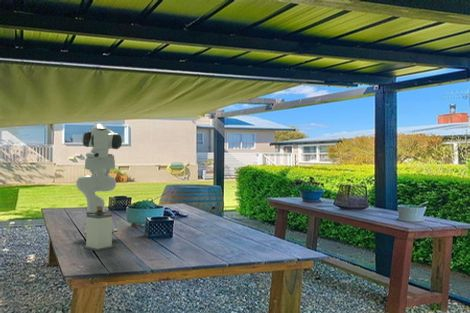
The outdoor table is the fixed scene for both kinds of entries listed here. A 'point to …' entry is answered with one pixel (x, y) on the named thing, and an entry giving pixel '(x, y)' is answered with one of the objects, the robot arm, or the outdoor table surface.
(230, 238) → the outdoor table surface
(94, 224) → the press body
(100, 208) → the plunger
